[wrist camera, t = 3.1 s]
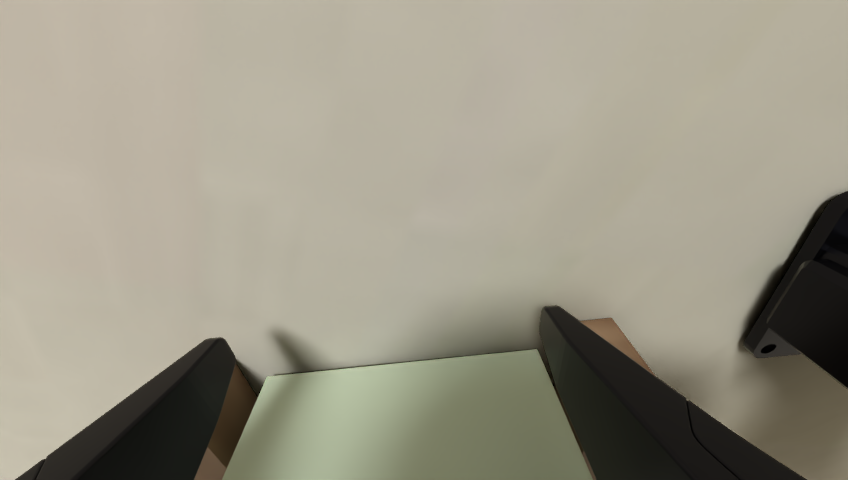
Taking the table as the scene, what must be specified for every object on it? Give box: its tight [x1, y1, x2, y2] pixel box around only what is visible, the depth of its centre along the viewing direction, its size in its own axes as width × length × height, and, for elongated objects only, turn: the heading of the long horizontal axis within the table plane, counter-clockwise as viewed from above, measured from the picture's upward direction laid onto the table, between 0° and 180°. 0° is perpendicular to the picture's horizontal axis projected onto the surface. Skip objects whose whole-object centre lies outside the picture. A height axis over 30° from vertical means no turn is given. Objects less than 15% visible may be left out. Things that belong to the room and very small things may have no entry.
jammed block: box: [222, 349, 593, 480], centre depth 11 cm, size 10×6×4 cm, turn 96°
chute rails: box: [194, 318, 654, 480], centre depth 14 cm, size 15×14×2 cm
